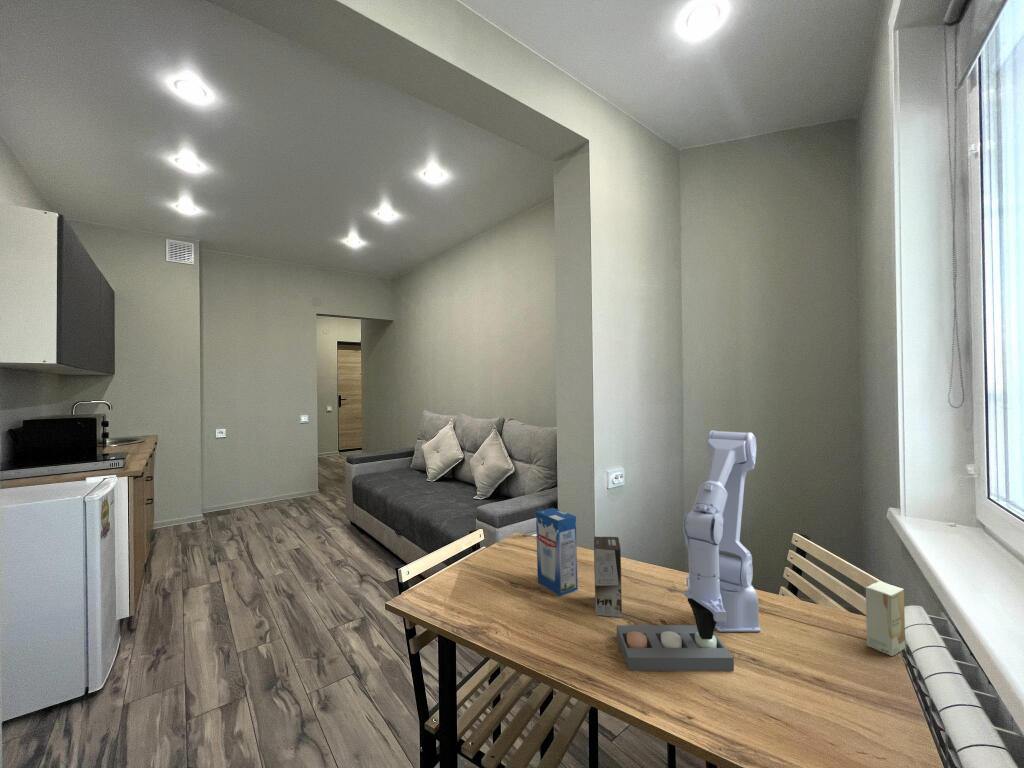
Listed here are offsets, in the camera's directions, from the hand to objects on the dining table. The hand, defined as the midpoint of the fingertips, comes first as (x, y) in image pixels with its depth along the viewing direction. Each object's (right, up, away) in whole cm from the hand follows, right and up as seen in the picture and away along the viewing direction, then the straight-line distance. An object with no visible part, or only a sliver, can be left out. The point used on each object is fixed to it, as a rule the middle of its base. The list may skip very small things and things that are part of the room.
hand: (705, 637), depth 86 cm
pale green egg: (0, -3, 0) cm, 3 cm away
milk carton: (-27, -4, +30) cm, 41 cm away
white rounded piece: (-7, -3, 0) cm, 8 cm away
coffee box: (-16, -4, +19) cm, 25 cm away
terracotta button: (-14, -3, +1) cm, 14 cm away
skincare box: (+38, -3, +1) cm, 38 cm away
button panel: (-7, -3, 0) cm, 8 cm away
